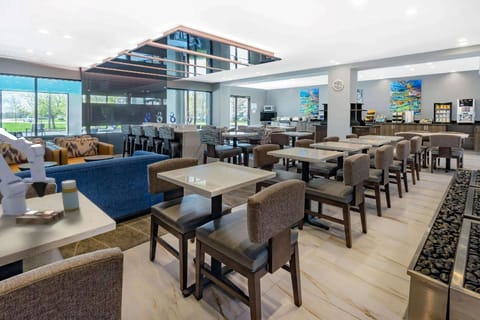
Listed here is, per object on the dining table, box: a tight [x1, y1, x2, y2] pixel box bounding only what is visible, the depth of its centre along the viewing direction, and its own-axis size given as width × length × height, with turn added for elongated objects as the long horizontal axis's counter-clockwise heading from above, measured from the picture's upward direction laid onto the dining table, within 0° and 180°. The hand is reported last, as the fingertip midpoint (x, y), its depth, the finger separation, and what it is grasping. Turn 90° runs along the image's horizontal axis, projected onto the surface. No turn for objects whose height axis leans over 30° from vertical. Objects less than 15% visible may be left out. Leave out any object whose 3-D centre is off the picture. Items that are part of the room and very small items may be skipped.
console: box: [14, 209, 65, 226], centre depth 133 cm, size 16×10×3 cm, turn 87°
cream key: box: [24, 211, 39, 216], centre depth 133 cm, size 4×4×3 cm
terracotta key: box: [41, 211, 55, 216], centre depth 133 cm, size 4×4×3 cm
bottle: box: [61, 179, 80, 212], centre depth 145 cm, size 7×7×15 cm
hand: (41, 196), depth 138 cm, fingers closed
